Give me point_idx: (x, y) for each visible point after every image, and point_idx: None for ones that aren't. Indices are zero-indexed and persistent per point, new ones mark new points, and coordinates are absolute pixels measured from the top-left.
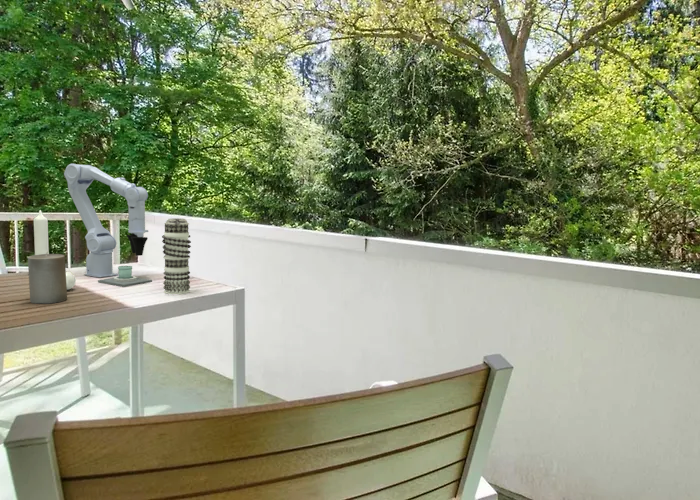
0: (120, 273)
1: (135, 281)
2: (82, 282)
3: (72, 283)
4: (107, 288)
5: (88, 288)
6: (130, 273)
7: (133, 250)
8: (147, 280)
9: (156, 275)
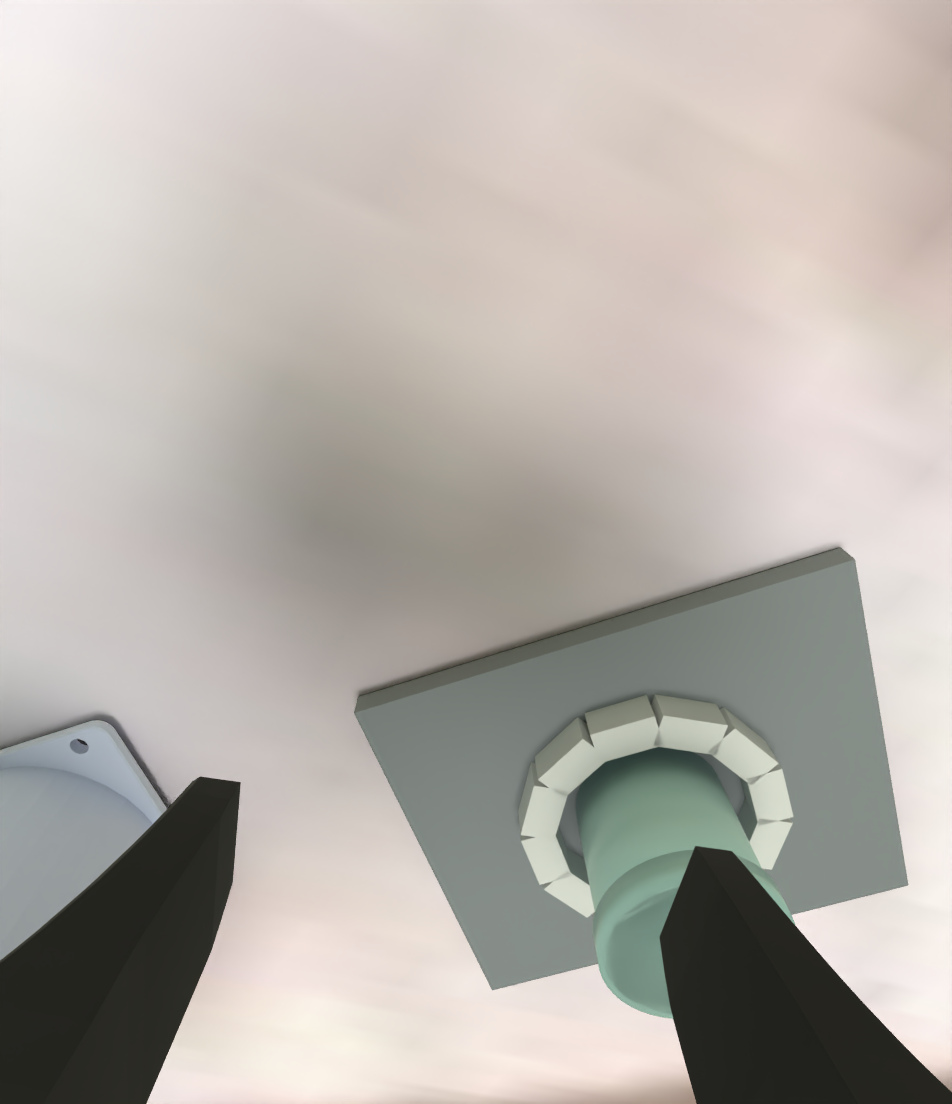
0: None
1: (811, 748)
2: (411, 1049)
3: None
4: (841, 978)
5: None
6: (746, 836)
7: (215, 928)
8: (850, 618)
9: (346, 269)
